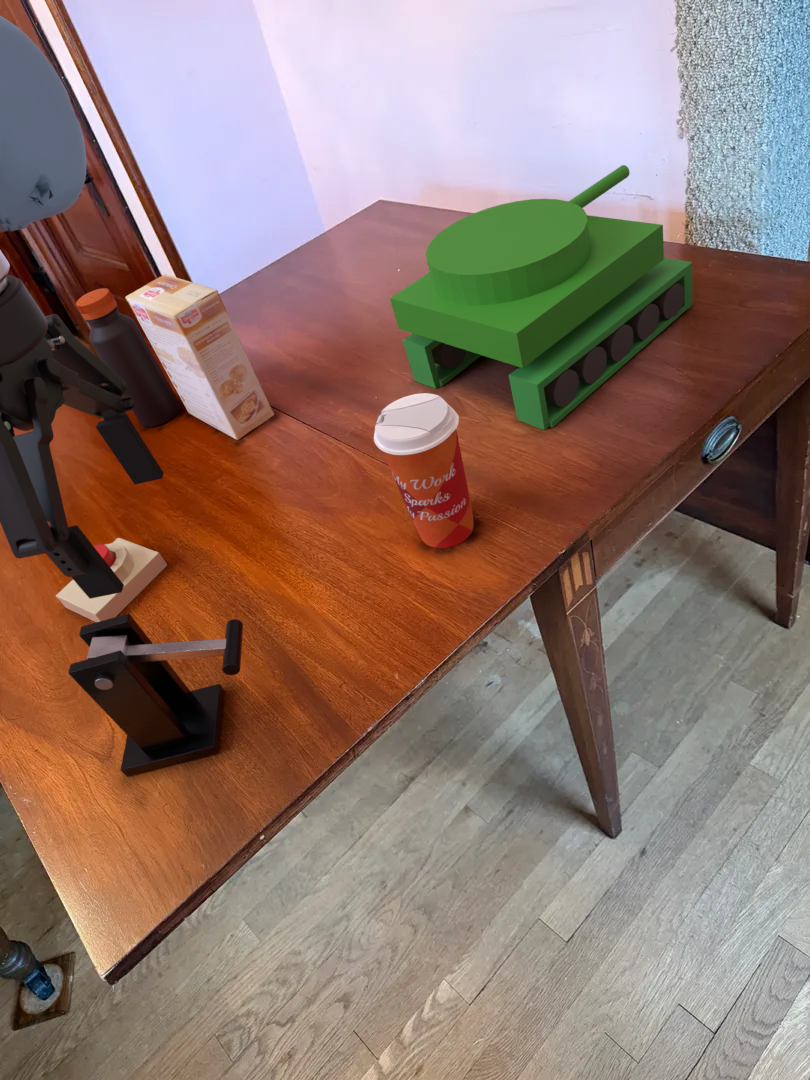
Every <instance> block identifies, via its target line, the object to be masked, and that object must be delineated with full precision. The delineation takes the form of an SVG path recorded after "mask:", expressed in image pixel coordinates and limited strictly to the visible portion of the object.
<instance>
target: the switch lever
mask: <svg viewBox="0 0 810 1080" xmlns="http://www.w3.org/2000/svg"><path fill="white" fill-rule="evenodd" d="M224 633H225V634H224V638H215V639H213V638H212V639H202V640H199V639H198V640H189V641H187V640H186V641H185V640H184V641H172V642H160V643H159V642H158V643H153V644H143V645H130V643H129V640H128V637H127V635H120V636H106V637H93V638H92V641H91V644H90V647H88V648H89V649H88V652H87V656H86V660H87V659H90V658H94V657H98V656H101V655H105V654H109V653H112V652H116V651H120V650H121V651H122V652H123V653H124V655H125V656H126V657H127V658H128V659H129V661H130V662H131V663H136V662H149V661H163V660H166V661H174V660H175V661H177V660H191V659H200V658H201V659H202V658H218V657H222V666H221V667H222V668H221V671H222V672H223V674H225V675H227V676H235V675H238V674H239V673H240V672H241V665H242V664H241V663H242V651H243V637H244V635H243V634H244V624H243V622H242V621H241V620H239V619H230V620H228V621H227V622H226V624H225V632H224Z"/></svg>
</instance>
